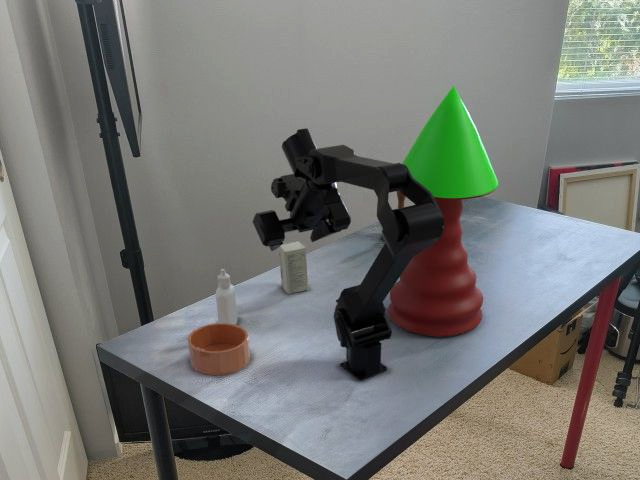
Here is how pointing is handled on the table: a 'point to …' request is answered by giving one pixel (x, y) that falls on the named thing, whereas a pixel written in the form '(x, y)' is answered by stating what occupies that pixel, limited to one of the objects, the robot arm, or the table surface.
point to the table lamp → (448, 251)
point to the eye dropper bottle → (226, 300)
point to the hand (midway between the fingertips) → (291, 244)
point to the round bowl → (219, 348)
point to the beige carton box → (293, 267)
